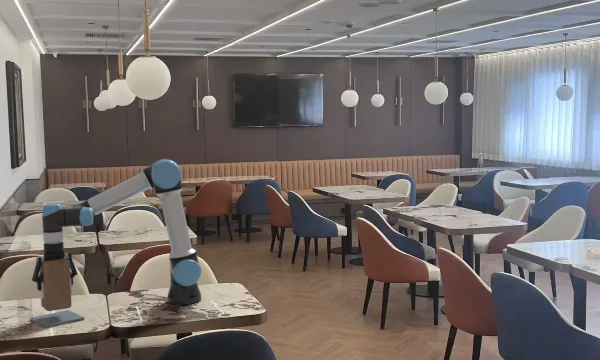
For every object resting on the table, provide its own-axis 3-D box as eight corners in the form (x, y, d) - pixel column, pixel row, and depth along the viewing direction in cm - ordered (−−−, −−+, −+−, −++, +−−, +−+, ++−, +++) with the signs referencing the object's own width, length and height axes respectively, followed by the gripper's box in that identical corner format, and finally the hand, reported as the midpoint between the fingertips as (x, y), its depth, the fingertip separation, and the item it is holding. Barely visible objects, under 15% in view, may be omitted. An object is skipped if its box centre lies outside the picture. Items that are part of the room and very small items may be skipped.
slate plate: (68, 312, 282) (68, 310, 282) (84, 319, 271) (84, 317, 271) (30, 320, 272) (30, 317, 272) (45, 328, 260) (45, 325, 260)
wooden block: (72, 308, 269) (70, 259, 268) (46, 312, 264) (44, 262, 262) (65, 303, 278) (63, 255, 276) (40, 306, 272) (38, 258, 271)
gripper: (77, 237, 279) (79, 289, 281) (21, 244, 264) (23, 299, 265) (84, 239, 274) (87, 292, 275) (28, 246, 258) (30, 302, 260)
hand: (56, 295), depth 270 cm, fingers closed on wooden block, 10 cm apart
